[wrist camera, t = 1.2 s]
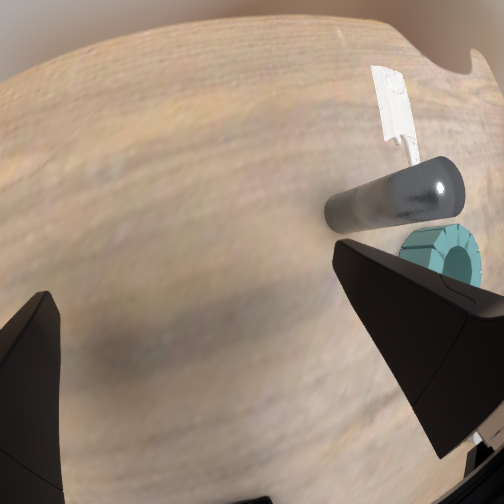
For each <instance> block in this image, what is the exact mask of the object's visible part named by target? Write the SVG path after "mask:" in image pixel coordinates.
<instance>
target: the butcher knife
mask: <svg viewBox="0 0 504 504" xmlns="http://www.w3.org/2000/svg"><path fill="white" fill-rule="evenodd" d="M371 70H372V74H373V79H374V84H375V88H376V93H377V96H378V97H377V98H378V104H379V109H380V115H381V121H382V127H383V133H384V140H385V141H387V140H389V139H391V138H393V139H394V140H395V143H396V145H399V144H401V139H400V137H402V139H403V140H404V143H405V147H406V151H407V156H408V161H409V167H411V166H414V165H417V164H419V163H420V160H419V153H418V146H417V140H416V133H415V127H414V124H413V123H414V122H413V119H412V118H413V116H412V114H411V113H412V111H411V109H410V108H411V106H410V105H409V103H410V102H409V100H408V98H409V97H408V96H407V92H406V88H405V83H404V80H403V76H402V73H400V72H396V71H395V70H394V71H393V70H391V69H388V68H386V67H382V66H371Z"/></svg>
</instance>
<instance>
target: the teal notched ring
mask: <svg viewBox="0 0 504 504" xmlns="http://www.w3.org/2000/svg"><path fill="white" fill-rule="evenodd" d="M402 247H403V249H404V250H400V254H399V257H400V258H403V259H405V260H408V261H410V262H413V263H416V264H418V265H421V266H423V267H426V268H428V269H431V270H433V271H436V272H438V274H439V273H441V274H444V275H446V276H449V277H451V278H454V279H456V280H459V281H461V282H464V283H467V284H470V285H473V286H475V287H478V288H480V283H481V277H482V274H481V273H480V272H479V271H481V270H482V265H481V256H480V251H478V249H479V247H478V245H477V243H476V241H475V239H474V237H473V235H472V233H470V231H469V230H467V229H466V228H464V227H463V226H461V225H460V224H451V225H443V226H435V227H428V228H423V229H420V230H417V231H414V233H411V235H410V236H409V237H408V239H407V240H406V241H405V243H404V244H403V245H402Z"/></svg>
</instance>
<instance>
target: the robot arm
mask: <svg viewBox="0 0 504 504" xmlns="http://www.w3.org/2000/svg"><path fill="white" fill-rule="evenodd" d="M332 265H333V269H334V271H335V273H336V275H337V277H338V279H339V281H340V283H341V285H342V287H343V289H344V291H345V293H346V295H347V297H348V299H349V301H350V303H351V305H352V307H353V308H354V310H355V312H356V313H357V315H358V317H359V318H360V320H361V321H362V323H363V325H364V326H365V328H366V330H367V331H368V333H369V334H370V336H371V338H372V339H373V341H374V343H375V344H376V346H377V348H378V349H379V351H380V353H381V354H382V356H383V358H384V360H385V361H386V363H387V365H388V366H389V368H390V370H391V372H392V373H393V375H394V377H395V378H396V380H397V382H398V384H399V385H400V387H401V389H402V391H403V392H404V394H405V396H406V398H407V400H408V401H409V403H410V405H411V407H412V409H413V411H414V413H415V414H416V416H417V418H418V420H419V422H420V424H421V425H422V427H423V429H424V431H425V433H426V435H427V437H428V439H429V440H430V442H431V444H432V446H433V448H434V450H435V452H436V454H437V456H438V457H439V459H442V458H443V457H445V456H446V455H448V454H449V453H450V452H452V451H453V450H454V449H456V448H457V447H458V446H459V445H461V444H462V443H463V442H465V441H466V440H467V439H468V438H470V437H471V436H472V435H473V434H474V433H476V432H477V433H478V435H479V436H480V438H481V439H482V441H481V442H480V443H478V444H477V445H476V446H475V447H474V448H473V449H471V450H470V451H469V452H468V454H467V460H466V467H465V473H464V478H463V480H462V481H461V482H459V483H458V484H457V485H455V486H454V487H453V488H452V489H450V490H449V491H448V492H446V493H445V494H444V495H442V496H441V497H440V498H438V499H437V500H435V501H434V502H433V503H431V504H504V296H501V295H498V294H496V293H493V292H490V291H487V290H484V289H481V288H478V287H475V286H473V285H470V284H467V283H464V282H461V281H459V280H456V279H454V278H451V277H449V276H446V275H444V274H441V273H439V274H438V272H436V271H433V270H431V269H428V268H426V267H423V266H421V265H418V264H416V263H413V262H410V261H408V260H405V259H403V258H400V257H397V256H395V255H392V254H389V253H387V252H384V251H381V250H379V249H376V248H373V247H370V246H368V245H365V244H362V243H359V242H357V241H354V240H351V239H341V240H338V241H336V243H335V247H334V254H333V260H332ZM60 365H61V349H60V313H59V310H58V308H57V306H56V304H55V302H54V300H53V297H52V295H51V293H50V292H49V291H42V292H37V293H36V294H35V295H34V296H33V297H32V298H31V299H30V300H29V301H28V302H27V303H26V304H25V305H24V306H23V307H22V308H21V309H20V310H19V311H18V312H17V313H16V314H15V315H14V316H13V317H12V318H11V319H10V320H9V321H8V322H7V323H6V324H5V325H4V326H3V328H2V329H1V330H0V504H65V500H64V493H63V492H62V491H63V485H62V475H61V463H60V446H59V384H60ZM266 500H267V501H266ZM243 504H273V503H272V501H271V499H270V497H263V498H260V499H257V500H253V501H250V502H246V503H243Z"/></svg>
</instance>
